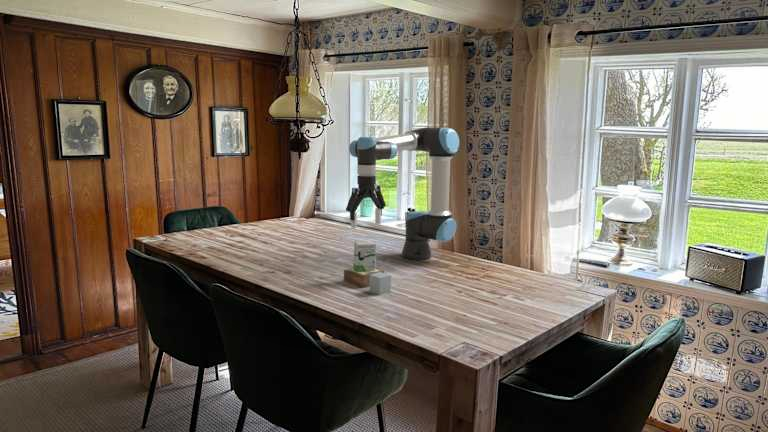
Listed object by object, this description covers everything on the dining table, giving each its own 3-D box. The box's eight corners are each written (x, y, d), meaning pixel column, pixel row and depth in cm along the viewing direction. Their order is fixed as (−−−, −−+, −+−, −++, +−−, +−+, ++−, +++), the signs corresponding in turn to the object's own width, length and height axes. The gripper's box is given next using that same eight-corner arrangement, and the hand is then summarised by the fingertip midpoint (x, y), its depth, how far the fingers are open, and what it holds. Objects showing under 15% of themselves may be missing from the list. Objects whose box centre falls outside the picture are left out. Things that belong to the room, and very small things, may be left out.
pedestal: (365, 276, 233) (365, 264, 232) (384, 282, 225) (384, 270, 224) (343, 281, 225) (344, 269, 224) (362, 288, 217) (362, 275, 216)
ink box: (355, 272, 221) (356, 244, 219) (353, 268, 225) (353, 241, 223) (376, 270, 223) (376, 243, 221) (373, 267, 228) (373, 240, 226)
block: (380, 288, 216) (380, 271, 215) (390, 292, 212) (390, 275, 211) (369, 291, 212) (369, 274, 211) (379, 295, 208) (379, 277, 207)
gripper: (382, 172, 230) (381, 221, 233) (337, 176, 213) (337, 228, 216) (394, 173, 224) (393, 223, 228) (349, 177, 207) (349, 231, 211)
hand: (366, 226), depth 222 cm, fingers open, 13 cm apart
